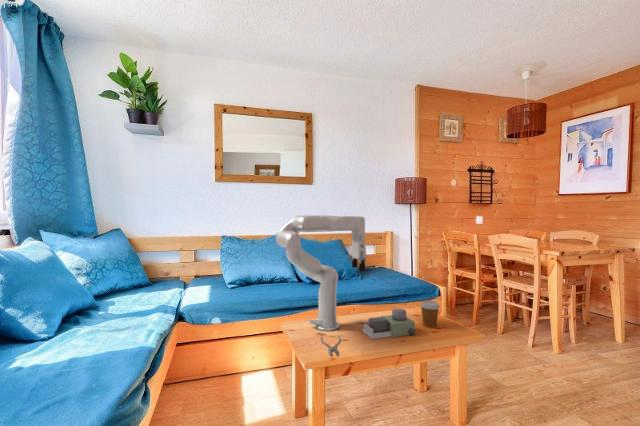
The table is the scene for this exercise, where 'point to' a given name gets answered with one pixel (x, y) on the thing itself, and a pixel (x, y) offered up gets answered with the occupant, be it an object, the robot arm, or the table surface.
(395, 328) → the knobbed sage block
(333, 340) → the table surface
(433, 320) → the disposable coffee cup
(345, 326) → the table surface
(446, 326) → the table surface
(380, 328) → the dark grey block
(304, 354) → the table surface
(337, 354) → the pliers
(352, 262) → the robot arm
